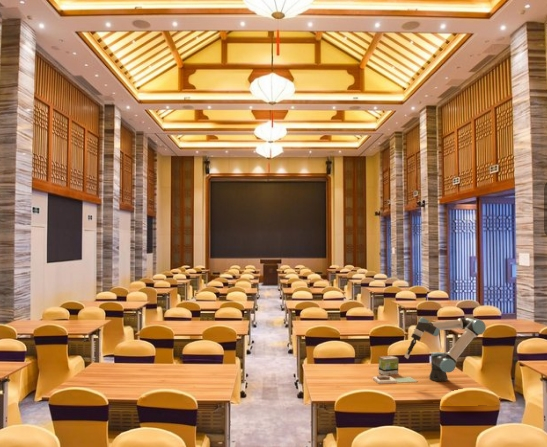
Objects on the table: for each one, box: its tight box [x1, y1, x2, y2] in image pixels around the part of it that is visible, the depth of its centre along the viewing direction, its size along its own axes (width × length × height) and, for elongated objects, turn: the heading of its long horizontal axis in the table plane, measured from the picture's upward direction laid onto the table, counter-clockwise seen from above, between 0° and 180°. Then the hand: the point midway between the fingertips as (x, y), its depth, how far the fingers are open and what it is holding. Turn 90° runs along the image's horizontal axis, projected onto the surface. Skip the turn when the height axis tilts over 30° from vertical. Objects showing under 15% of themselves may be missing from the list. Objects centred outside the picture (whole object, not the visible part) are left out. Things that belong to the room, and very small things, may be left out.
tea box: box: [378, 355, 399, 376], centre depth 440 cm, size 15×10×15 cm, turn 112°
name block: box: [376, 374, 390, 380], centre depth 416 cm, size 9×6×2 cm, turn 99°
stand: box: [372, 375, 397, 385], centre depth 416 cm, size 16×14×2 cm
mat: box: [393, 376, 418, 384], centre depth 419 cm, size 18×14×1 cm
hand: (406, 357), depth 406 cm, fingers open, 13 cm apart
